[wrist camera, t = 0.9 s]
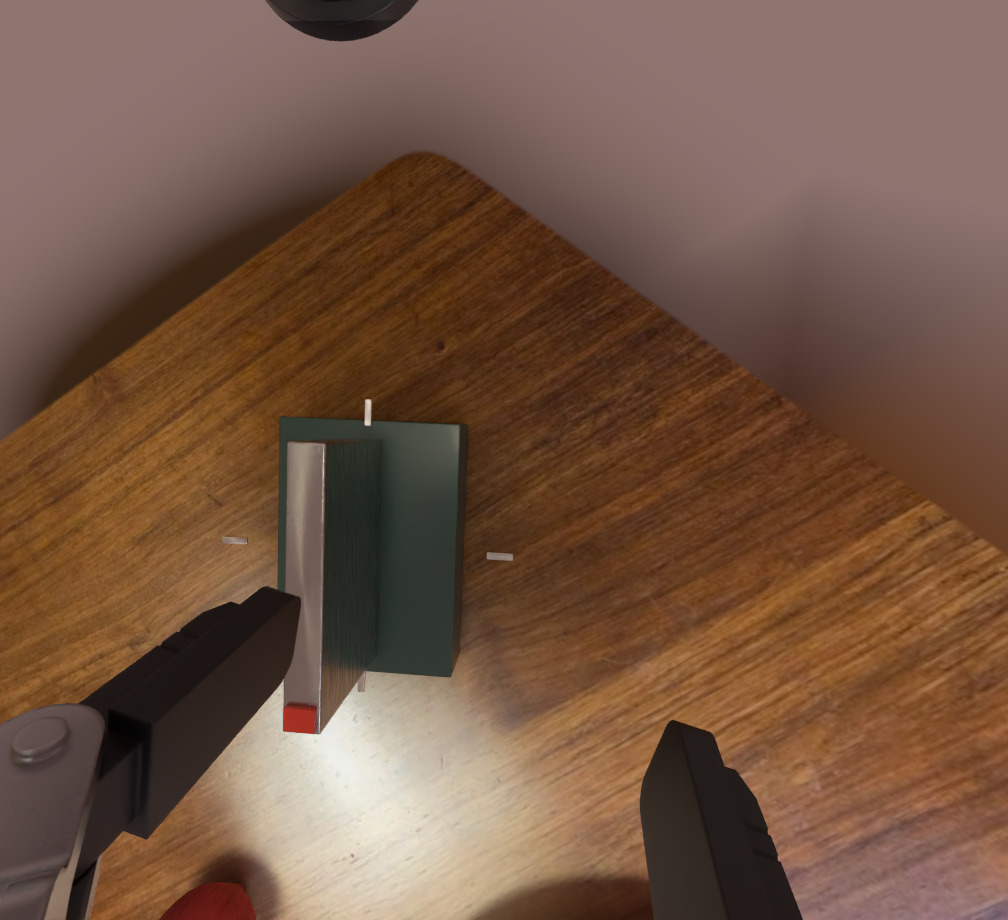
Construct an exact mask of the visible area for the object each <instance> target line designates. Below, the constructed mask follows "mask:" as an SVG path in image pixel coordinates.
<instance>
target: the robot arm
mask: <svg viewBox="0 0 1008 920" xmlns="http://www.w3.org/2000/svg"><path fill="white" fill-rule="evenodd" d="M322 1H342V0H322ZM300 610H301V599H300V597H299V596H295V595H292V594H289V593H286V592H283V591H280V590H277V589H274V588H271V587H268V586H265V587H262V588H261V589H259V590H258V591H257V592H255V593H254V594H253V595H251V596H250V597H249V598H248V599H246V600H245V601H244V602H243V603H241V604H240V605H239V604H236V603H233V602H229V603H226V604H223V605H221V606H218V607H216V608H213V609H210V610H208V611H205V612H203V613H202V614H200V615H199V616H197V617H196V618H195V619H193V620H192V621H191V622H189V623H188V624H187V625H185V626H184V627H182V628H181V630H180V632H176V633H174V634H173V635H171V636H170V637H169V638H167V639H166V640H165V641H163V642H162V644H161V646H156V647H155V648H154V649H152V650H151V651H150V652H148V653H147V654H145V655H144V656H143V657H141V658H140V659H139V660H137V661H136V662H135V663H133V664H132V665H130V666H129V667H128V668H126V669H125V670H124V671H122V672H121V673H120V674H118V675H117V676H115V677H114V678H113V679H111V680H110V681H109V682H107V683H106V684H104V685H103V686H102V687H100V688H99V689H98V690H96V691H95V692H94V693H92V694H91V695H89V696H88V697H87V698H85V699H84V700H83V701H81V702H80V703H78V704H69V703H65V704H55V705H50V706H44V707H41V708H37V709H34V710H31V711H28V712H25V713H23V714H20V715H18V716H16V717H14V718H12V719H10V720H8V721H6V722H5V723H3V724H1V725H0V920H89V919H90V914H91V909H92V905H93V900H94V895H95V891H96V886H97V881H98V876H99V872H100V867H101V862H102V853H103V852H104V851H105V850H106V849H107V848H108V847H109V846H110V844H111V843H112V842H113V841H114V840H115V839H116V838H117V837H118V836H119V835H120V834H121V833H122V831H125V832H128V833H130V834H133V835H136V836H138V837H141V838H144V839H146V840H147V839H148V838H149V836H150V835H151V834H152V833H153V832H154V831H155V829H156V828H157V827H158V826H159V825H160V824H161V823H162V821H163V820H164V819H165V818H166V817H167V816H168V814H169V813H170V812H171V811H172V810H173V809H174V807H175V806H176V805H177V804H178V803H179V802H180V800H181V799H182V798H183V797H184V796H185V795H186V793H187V792H188V791H189V790H190V789H191V788H192V786H193V785H194V784H195V783H196V782H197V781H198V780H199V778H200V777H201V776H202V775H203V774H204V773H205V771H206V770H207V769H208V768H209V767H210V766H211V764H212V763H213V762H214V761H215V760H216V759H217V757H218V756H219V755H220V754H221V753H222V752H223V750H224V749H225V748H226V747H227V746H228V745H229V744H230V742H231V741H232V740H233V739H234V738H235V737H236V735H237V734H238V733H239V732H240V731H241V730H242V728H243V727H244V726H245V725H246V724H247V723H248V721H249V720H250V719H251V718H252V717H253V716H254V714H255V713H256V712H257V711H258V710H259V709H260V707H261V706H262V705H263V704H264V703H265V702H266V701H267V699H268V698H269V697H270V696H271V695H272V694H273V692H274V691H275V690H276V689H277V688H278V686H279V685H280V684H281V682H282V681H283V679H284V678H285V676H286V674H287V672H288V670H289V668H290V665H291V662H292V659H293V655H294V649H295V643H296V636H297V630H298V623H299V617H300ZM640 814H641V822H642V830H643V838H644V845H645V853H646V861H647V869H648V877H649V884H650V892H651V900H652V908H653V915H654V920H803V919H802V916H801V914H800V911H799V908H798V906H797V903H796V901H795V898H794V895H793V893H792V890H791V888H790V885H789V882H788V880H787V877H786V875H785V872H784V869H783V867H782V864H781V862H780V861H778V858H777V857H778V854H777V851H776V849H775V846H774V843H773V841H772V838H771V836H770V835H768V828H767V825H766V822H765V820H764V817H763V815H762V812H761V809H760V807H759V804H758V802H757V799H756V798H755V796H754V795H753V793H752V792H751V791H750V789H749V788H748V786H747V785H746V784H745V782H744V781H743V779H742V778H741V777H740V775H739V774H738V772H737V771H736V770H734V769H731V768H728V767H725V766H724V764H723V761H722V758H721V755H720V752H719V749H718V746H717V743H716V740H715V738H714V736H713V734H712V733H711V732H709V731H706V730H702V729H699V728H696V727H693V726H690V725H687V724H684V723H681V722H678V721H675V720H671V721H670V722H669V723H668V724H667V726H666V728H665V730H664V733H663V735H662V737H661V739H660V742H659V744H658V746H657V748H656V751H655V753H654V755H653V757H652V760H651V762H650V764H649V767H648V769H647V771H646V773H645V776H644V779H643V783H642V788H641V795H640Z"/></svg>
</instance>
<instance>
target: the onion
mask: <svg viewBox="0 0 1008 920" xmlns="http://www.w3.org/2000/svg"><path fill="white" fill-rule="evenodd" d="M159 920H256V915H255V912H254V908H253V905H252V902H251V900H250V898H249V896H248V895H247V892H246V889H245V888H244V886H243V885H242V884H240V883H224V882H214V883H209V884H204V885H200V886H198V887H196V888H195V889H193V890H191V891H189V892H187V893H186V894H185V895H183V896H182V897H181V898H180V899H178V900H177V901H176V902H175V903H174V904H173V905H172V906H171V907H170V908H169V909H168V910H167V911H166V912H165V913H164V914H163V915H162V916H161V918H160V919H159Z"/></svg>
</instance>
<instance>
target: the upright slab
mask: <svg viewBox="0 0 1008 920" xmlns="http://www.w3.org/2000/svg"><path fill="white" fill-rule="evenodd" d="M381 457H382V440H381V439H364V438H345V439H322V440H299V441H288V443H287V499H286V571H285V592H286V593H289V594H292V595H295V596H299V597H300V599H301V610H300V617H299V623H298V630H297V636H296V643H295V649H294V655H293V659H292V662H291V665H290V668H289V670H288V672H287V674H286V676H285V678H284V708H283V731H284V732H296V733H307V734H320V733H321V732H322V731H323V729H324V728H325V726H326V725H327V724H328V722H329V721H330V719H331V718H332V717H333V715H334V714H335V712H336V711H337V709H338V708H339V707H340V705H341V704H342V702H343V701H344V700H345V698H346V697H347V695H348V694H349V693H350V691H351V690H352V688H353V687H354V686H355V684H356V683H357V681H358V680H359V679H360V677H361V676H362V674H363V673H364V672H365V670H366V669H367V667H368V666H369V665H370V663H371V662H372V660H373V659H374V657H375V656H376V644H377V607H378V570H379V532H380V495H381Z"/></svg>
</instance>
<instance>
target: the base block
mask: <svg viewBox="0 0 1008 920" xmlns="http://www.w3.org/2000/svg"><path fill="white" fill-rule="evenodd" d="M345 438H364V439H381V440H382V457H381V495H380V532H379V570H378V607H377V644H376V656H375V657H374V659H373V660H372V662H371V663H370V665H369V666H368V667H367V669H366V670H365V672H364V673H363V674H362V676H361V677H360V679H359V680H358V692H365V675H366V671H373V672H385V673H398V674H411V675H424V676H437V677H451V676H452V673H453V670H454V667H455V664H456V662H457V659H458V656H459V653H460V631H461V605H462V578H463V552H464V526H465V500H466V474H467V448H468V425H466V424H448V423H425V422H402V421H379V420H372V400H371V399H365V420H355V419H332V418H309V417H286V416H281V417H280V448H279V525H278V590H280V591H283V592H285V571H286V499H287V443H288V441H299V440H322V439H345ZM222 543H229V544H245V545H246V544H248V538H245V537H228V536H223V537H222ZM487 559H491V560H507V561H513V554H511V553H494V552H487Z"/></svg>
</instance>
